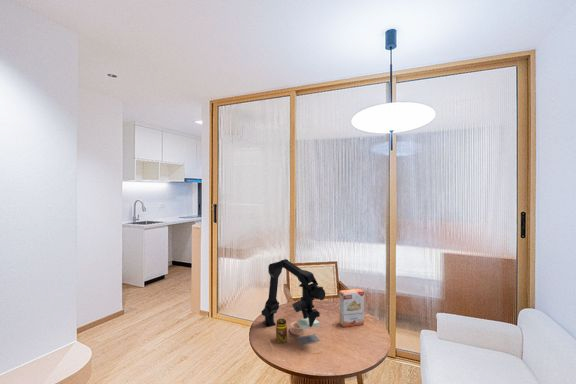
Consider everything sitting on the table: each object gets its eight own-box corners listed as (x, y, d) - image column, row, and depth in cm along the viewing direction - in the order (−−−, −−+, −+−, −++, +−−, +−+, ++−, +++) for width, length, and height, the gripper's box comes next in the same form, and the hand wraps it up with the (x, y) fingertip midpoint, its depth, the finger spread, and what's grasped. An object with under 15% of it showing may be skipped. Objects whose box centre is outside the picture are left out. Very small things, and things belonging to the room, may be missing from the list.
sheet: (296, 323, 160) (296, 320, 160) (313, 320, 163) (313, 317, 163) (301, 329, 153) (301, 325, 153) (319, 326, 156) (319, 322, 156)
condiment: (283, 346, 153) (283, 324, 153) (270, 342, 157) (270, 321, 157) (290, 340, 159) (290, 318, 159) (277, 336, 163) (277, 315, 163)
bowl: (288, 330, 171) (288, 323, 171) (302, 327, 174) (302, 320, 174) (293, 337, 162) (293, 329, 162) (308, 334, 165) (308, 327, 165)
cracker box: (343, 328, 172) (343, 293, 172) (339, 323, 178) (339, 290, 178) (364, 324, 176) (364, 291, 176) (359, 320, 182) (359, 288, 182)
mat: (295, 339, 160) (295, 337, 160) (314, 335, 164) (314, 334, 164) (301, 346, 152) (301, 345, 152) (320, 342, 156) (320, 340, 156)
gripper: (288, 292, 164) (288, 319, 164) (300, 304, 146) (300, 334, 146) (306, 289, 168) (306, 316, 168) (319, 300, 150) (320, 330, 150)
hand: (307, 323), depth 158 cm, fingers closed on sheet, 7 cm apart
